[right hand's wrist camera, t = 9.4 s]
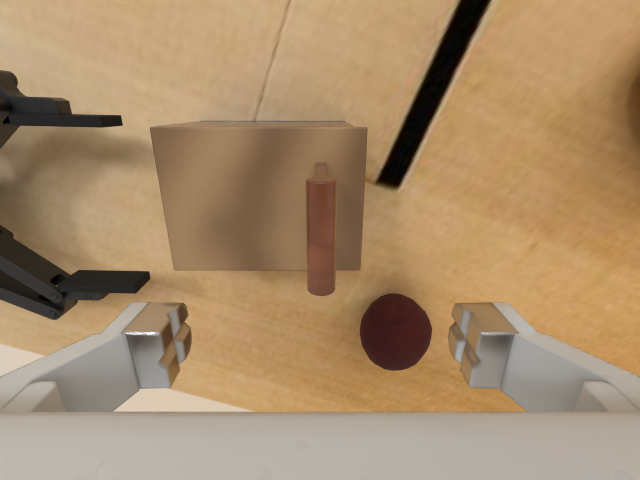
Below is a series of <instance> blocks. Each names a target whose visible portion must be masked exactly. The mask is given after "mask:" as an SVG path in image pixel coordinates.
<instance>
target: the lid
mask: <svg viewBox="0 0 640 480" xmlns="http://www.w3.org/2000/svg"><path fill="white" fill-rule="evenodd" d="M150 132H151V138H152V144H153V150H154V155H155V161H156V167H157V173H158V179H159V185H160V190H161V196H162V202H163V208H164V214H165V219H166V225H167V231H168V237H169V243H170V249H171V254H172V260H173V266H174V270H307V289H308V291H309V292H310V293H311V294H313V295H317V296H326V295H329V294H332V293H333V292H334V290H335V270H360V266H361V246H362V226H363V205H364V185H365V165H366V145H367V128H366V127H220V126H156V127H150Z"/></svg>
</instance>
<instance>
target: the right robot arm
mask: <svg viewBox="0 0 640 480" xmlns="http://www.w3.org/2000/svg"><path fill="white" fill-rule="evenodd" d="M187 317H188V311H187V306H186V305H185V304H184V303H166V302H151V303H150V302H134V303H130V305H129V306H128V307H127V308H126V309H125V310H124V311H123V312H122V313H121V314H120V315H119V316H118V317H117V318H116V319H115V320H114V321H113V322H112V323H111V324H110V325H109V326H108V327H107V328H106V329H105V330H104V331H103V332H102V333H101V334H94V335H91V336H89V337H87V338H85V339H83V340H80V341H78V342H76V343H74V344H71V345H69V346H67V347H65V348H63V349H60V350H58V351H56V352H54V353H52V354H49V355H47V356H45V357H43V358H40V359H38V360H36V361H34V362H32V363H29V364H27V365H25V366H23V367H21V368H18V369H16V370H14V371H12V372H9V373H7V374H5V375H3V376H1V377H0V480H640V377H639V376H637V375H635V374H633V373H630V372H628V371H626V370H624V369H621V368H619V367H617V366H615V365H613V364H610V363H608V362H606V361H604V360H602V359H599V358H597V357H595V356H593V355H591V354H588V353H586V352H584V351H582V350H580V349H577V348H575V347H573V346H571V345H568V344H566V343H564V342H562V341H560V340H557V339H555V338H553V337H551V336H549V335H546V334H539V333H538V332H537V331H536V330H535V329H534V328H533V327H532V326H531V325H530V324H529V323H528V322H527V321H526V320H525V319H524V318H523V317H522V316H521V315H520V314H519V313H518V312H517V311H516V310H515V308H514V307H513V306H512V305H511V304H510V303H507V302H489V303H455V305H454V307H453V310H452V317H453V318H454V320H455V323H454V324H453V325H452V326H451V327H450V328H449V336H448V340H449V348H450V351H451V354H452V356H453V358H454V359H455V360H456V361H458V362H459V363H461V368H460V371H461V373H462V375H463V377H464V378H465V380H466V382H467V384H468V386H469V388H494V389H501V391H502V392H504V393H505V394H506V395H507V396H509V397H510V398H511V399H512V400H514V401H515V402H516V403H517V404H519V405H520V406H521V407H522V408H524V409H525V410H526V411H527V412H113V411H114V410H115V409H116V408H118V407H119V406H120V405H121V404H123V403H124V402H125V401H127V400H128V399H129V398H130V397H132V396H133V395H134V394H135V393H137V392H138V391H139V389H146V388H171V386H172V384H173V382H174V380H175V378H176V377H177V375H178V373H179V371H180V368H179V363H181V362H182V361H184V360H185V359H186V358H187V356H188V354H189V351H190V347H191V339H192V335H191V328H190V327H189V326H188V325H187V324H186V323H185V320H186V318H187Z"/></svg>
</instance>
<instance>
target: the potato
mask: <svg viewBox="0 0 640 480" xmlns="http://www.w3.org/2000/svg"><path fill="white" fill-rule="evenodd" d="M431 334H432V327H431V324H430V321H429V318H428V316H427V314H426V312H425V311H424V310H423V309H422V308H421V307H420V306H419V305H418V304H417V303H416V302H415V301H413V300H412V299H410V298H408V297H406V296H403V295H401V294H387V295H384V296H381V297H380V298H378V299H377V300H376V301H374V302H373V303H372V304H371V305H370V306H369V308H368V309H367V311H366V312H365V314H364V316H363V318H362V321H361V327H360V336H361V342H362V346H363V348H364V350H365V352H366V353H367V355H368V357H369V359H370V360H371V361H372V362H374V363H375V364H376V365H378V366H380V367H382V368H383V369H387V370H392V371H393V370H403V369H407V368H409V367H411V366H413V365H415V364H416V363H417V362H418V361H419V360H420V359H421V357H422V356H423V355H424V354H425V352H426V351H427V349H428V347H429V345H430V340H431Z"/></svg>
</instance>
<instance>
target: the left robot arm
mask: <svg viewBox="0 0 640 480" xmlns="http://www.w3.org/2000/svg"><path fill="white" fill-rule="evenodd" d="M17 84H18V81H17V78H16V76H15V75H14V74H13V73H11V72H9V71H2V70H0V148H1V147H2V146H3V145H4V144H5V143H6V141H7V140H8V139H9V138H10V137H11V136H12V134H13V133H14V132H15V131H16V130H17V129H18V128H19V126H64V127H112V126H123V124H122V119H121V115H79V114H72V112H71V108H70V103H69V101H68V100H65V99H63V98H47V97H27V96H25V95H23V94H22V93H21V92H20V91H19V90H18V88H17ZM13 236H14V235H13V233H12V232H10V231H9V230H7V229H5V228H4V227H2V226H1V225H0V300H3V301H6V302H8V303H11V304H13V305H16V306H19V307H21V308H24V309H26V310H29V311H32V312H34V313H37V314H39V315H42V316H44V317H47V318H50V319H53V320H57V319H59V318H60V317H61V316H62V315H64V314H65V313H66V312H67V311H68V310H70V309H71V308H72V307H73V306H75V305H76V304H77V303H78V300H100V299H103V298H104V297H105V296H107V295H108V294H109V293H137V292H138V291H139V290H140V289H141V288H142V287H143V286H144V285H145V284H146V283H147V282H148V281H149V280H150V274H149V271H97V270H78V271H77V272H75V273H74V274H72V275H70V274H68V273H66V272H65V271H63V270H62V269H60V268H59V267H57V266H55V265H54V264H52V263H51V262H49V261H48V260H46V259H45V258H43V257H41V256H40V255H38V254H37V253H35V252H34V251H32V250H30V249H29V248H27V247H26V246H24V245H23V244H21V243H19V242H18V241H16V240H15V239H14V238H13ZM56 285H58V286H56Z"/></svg>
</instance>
